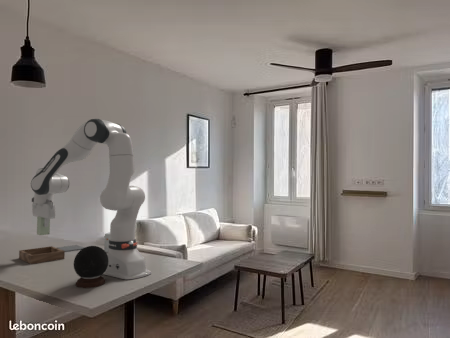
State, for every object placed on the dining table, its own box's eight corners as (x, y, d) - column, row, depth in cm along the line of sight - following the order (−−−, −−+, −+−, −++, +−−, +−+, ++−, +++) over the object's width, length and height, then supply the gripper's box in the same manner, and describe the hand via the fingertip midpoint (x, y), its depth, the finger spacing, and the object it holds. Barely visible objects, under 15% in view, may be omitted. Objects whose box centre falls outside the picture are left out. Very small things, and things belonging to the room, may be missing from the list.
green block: (49, 234, 175) (50, 216, 176) (40, 235, 172) (40, 217, 172) (46, 233, 178) (46, 216, 179) (36, 234, 175) (37, 216, 175)
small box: (121, 250, 198) (122, 232, 198) (117, 252, 192) (118, 234, 192) (108, 250, 198) (108, 232, 199) (103, 252, 193) (104, 233, 193)
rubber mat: (85, 248, 200) (85, 247, 200) (65, 251, 191) (65, 250, 191) (76, 245, 208) (76, 244, 208) (56, 248, 199) (56, 247, 199)
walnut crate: (64, 258, 176) (64, 250, 176) (30, 264, 164) (31, 255, 164) (51, 253, 186) (51, 246, 186) (19, 258, 174) (19, 250, 174)
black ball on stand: (111, 278, 144) (113, 243, 144) (102, 288, 131) (103, 249, 131) (80, 278, 143) (81, 242, 144) (67, 288, 130) (68, 249, 131)
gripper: (59, 200, 171) (58, 227, 171) (42, 198, 185) (42, 223, 184) (45, 200, 166) (45, 228, 166) (30, 198, 180) (29, 224, 179)
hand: (43, 226), depth 175 cm, fingers closed on green block, 4 cm apart
